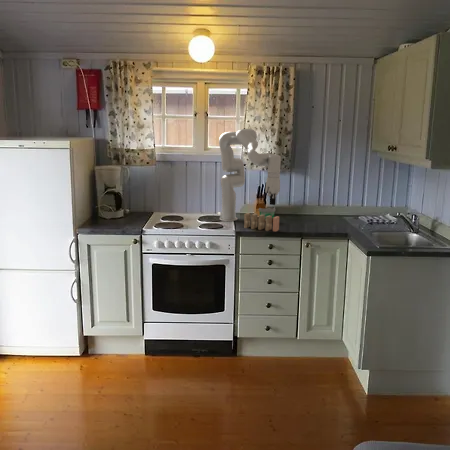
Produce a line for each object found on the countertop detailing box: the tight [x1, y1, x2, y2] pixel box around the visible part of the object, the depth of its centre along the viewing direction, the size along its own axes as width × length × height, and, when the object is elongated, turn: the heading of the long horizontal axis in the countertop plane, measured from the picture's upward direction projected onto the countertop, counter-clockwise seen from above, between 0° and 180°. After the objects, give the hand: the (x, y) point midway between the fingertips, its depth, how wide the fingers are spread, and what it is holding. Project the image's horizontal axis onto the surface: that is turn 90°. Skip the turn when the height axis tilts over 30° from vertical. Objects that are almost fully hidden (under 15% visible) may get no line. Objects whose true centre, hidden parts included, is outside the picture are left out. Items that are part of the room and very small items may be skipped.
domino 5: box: [272, 216, 280, 232], centre depth 295 cm, size 2×5×9 cm, turn 151°
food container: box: [258, 206, 277, 224], centre depth 318 cm, size 12×6×10 cm, turn 112°
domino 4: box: [264, 215, 273, 232], centre depth 297 cm, size 2×5×9 cm, turn 151°
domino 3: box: [257, 214, 266, 231], centre depth 299 cm, size 2×5×9 cm, turn 151°
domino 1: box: [243, 212, 252, 229], centre depth 304 cm, size 2×5×9 cm, turn 151°
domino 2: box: [250, 213, 259, 230], centre depth 302 cm, size 2×5×9 cm, turn 151°
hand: (272, 204), depth 294 cm, fingers closed
